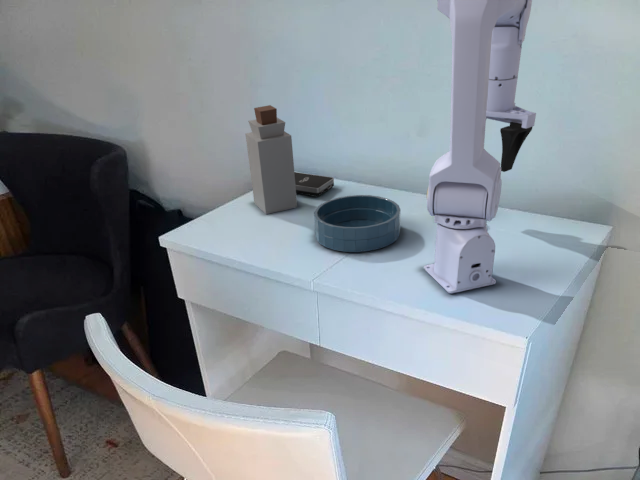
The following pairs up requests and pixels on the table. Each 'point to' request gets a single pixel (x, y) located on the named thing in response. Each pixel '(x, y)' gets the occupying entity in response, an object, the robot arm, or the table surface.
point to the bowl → (357, 223)
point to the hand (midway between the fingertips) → (488, 165)
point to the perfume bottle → (271, 162)
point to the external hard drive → (312, 184)
